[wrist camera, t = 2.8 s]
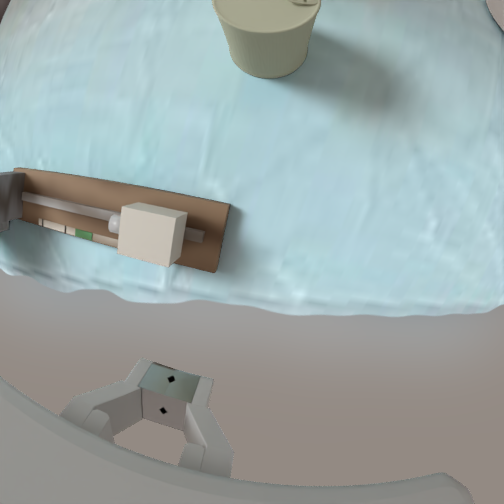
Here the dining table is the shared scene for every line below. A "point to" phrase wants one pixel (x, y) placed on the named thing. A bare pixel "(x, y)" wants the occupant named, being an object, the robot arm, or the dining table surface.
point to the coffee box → (4, 226)
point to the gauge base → (108, 210)
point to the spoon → (497, 11)
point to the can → (267, 33)
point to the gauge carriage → (149, 233)
